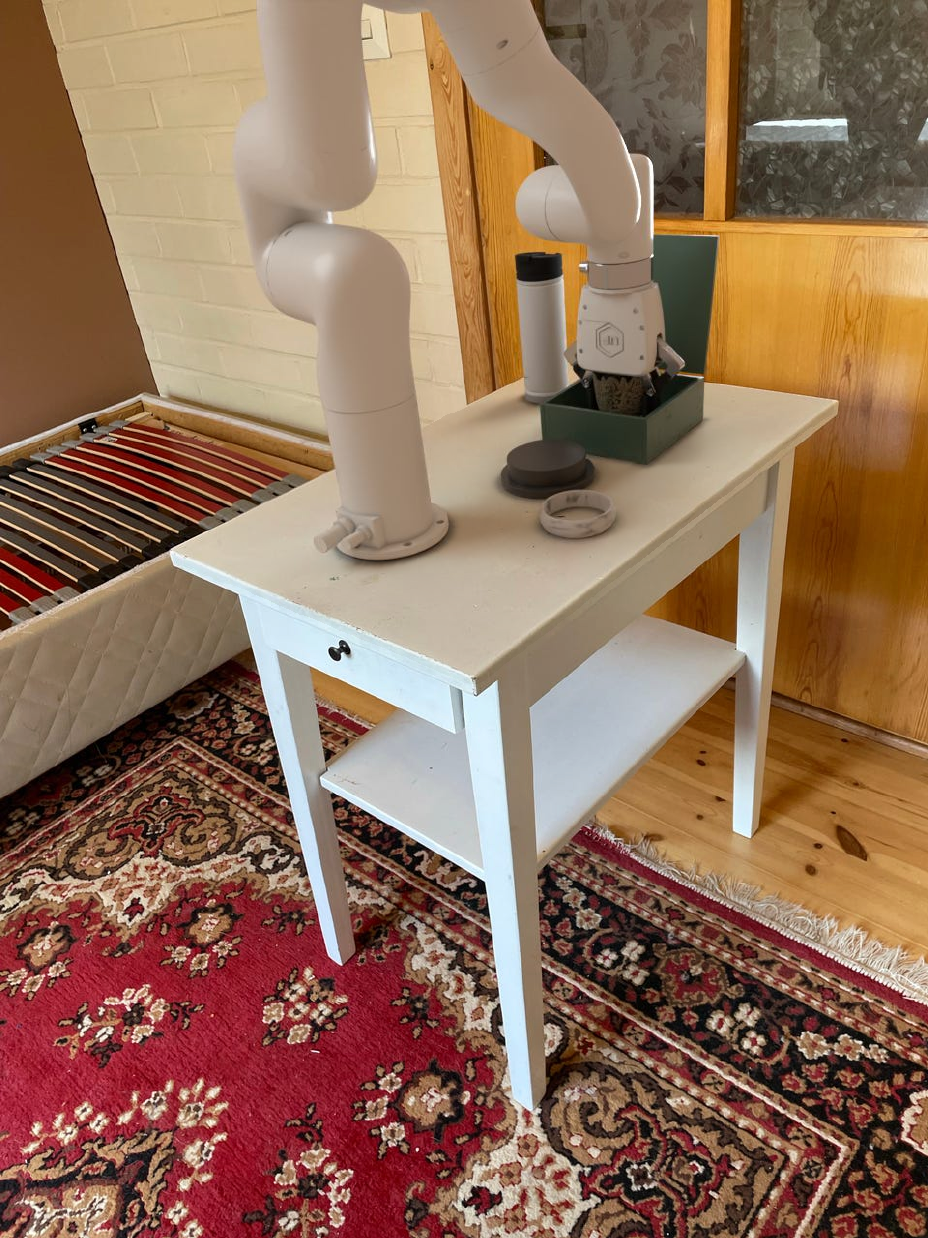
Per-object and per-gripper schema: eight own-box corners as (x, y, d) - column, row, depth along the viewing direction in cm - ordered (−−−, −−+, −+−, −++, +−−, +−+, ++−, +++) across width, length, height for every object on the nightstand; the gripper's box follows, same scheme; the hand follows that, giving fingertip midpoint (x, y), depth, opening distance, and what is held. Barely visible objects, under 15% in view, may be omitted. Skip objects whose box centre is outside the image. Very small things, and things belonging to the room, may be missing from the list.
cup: (583, 426, 121) (580, 365, 116) (631, 412, 123) (630, 352, 119) (614, 444, 115) (613, 381, 111) (664, 429, 117) (665, 366, 113)
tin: (647, 464, 110) (646, 419, 107) (542, 446, 119) (539, 403, 116) (703, 419, 120) (704, 376, 117) (603, 405, 128) (601, 364, 125)
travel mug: (514, 401, 133) (502, 254, 122) (542, 386, 137) (533, 243, 126) (550, 408, 129) (541, 257, 119) (577, 392, 133) (571, 245, 123)
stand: (562, 506, 104) (560, 481, 102) (482, 488, 110) (480, 465, 108) (611, 467, 111) (611, 444, 109) (534, 453, 117) (532, 430, 115)
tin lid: (717, 235, 110) (719, 235, 110) (607, 232, 118) (610, 232, 118) (703, 374, 117) (705, 373, 117) (600, 362, 125) (602, 362, 125)
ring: (564, 499, 105) (563, 483, 104) (629, 512, 101) (629, 495, 100) (525, 530, 100) (524, 513, 99) (592, 545, 95) (591, 528, 94)
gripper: (540, 277, 111) (549, 420, 121) (674, 285, 102) (672, 439, 111) (573, 262, 116) (579, 400, 126) (704, 268, 106) (700, 417, 116)
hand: (623, 417), depth 118 cm, fingers closed on cup, 7 cm apart
